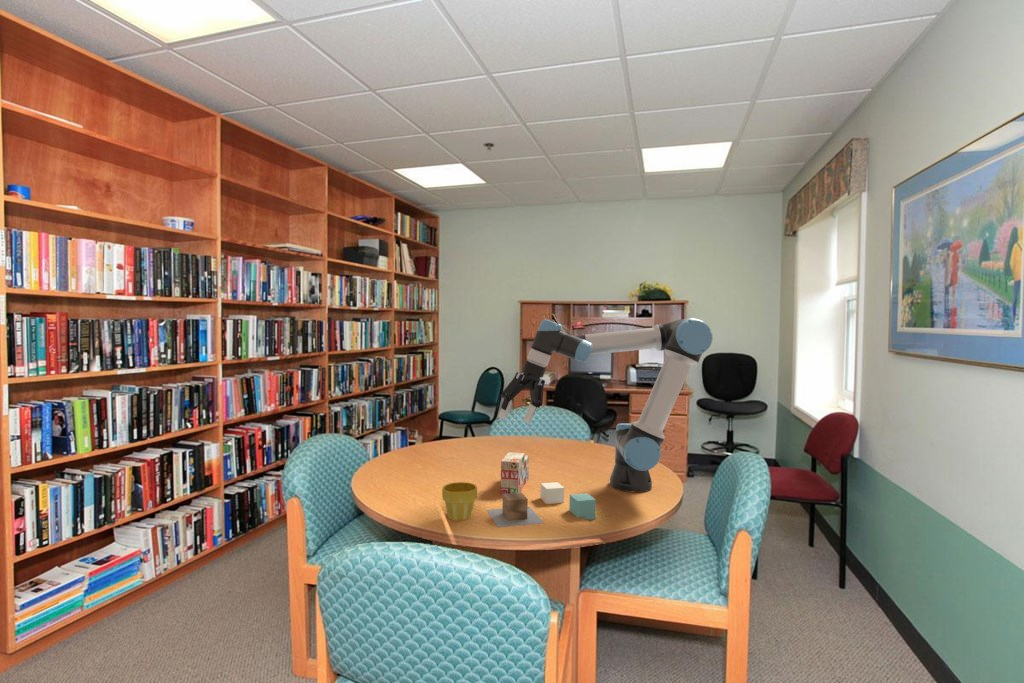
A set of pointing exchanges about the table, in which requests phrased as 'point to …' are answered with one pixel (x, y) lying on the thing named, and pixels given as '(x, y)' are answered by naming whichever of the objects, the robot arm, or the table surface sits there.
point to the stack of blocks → (514, 472)
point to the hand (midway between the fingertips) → (514, 420)
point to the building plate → (502, 521)
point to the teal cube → (582, 505)
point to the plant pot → (459, 499)
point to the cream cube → (552, 493)
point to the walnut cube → (515, 506)
